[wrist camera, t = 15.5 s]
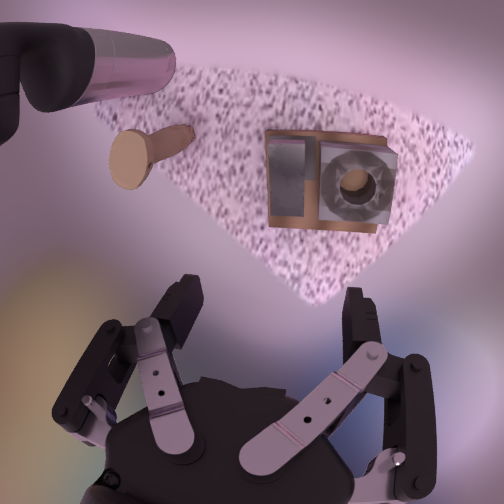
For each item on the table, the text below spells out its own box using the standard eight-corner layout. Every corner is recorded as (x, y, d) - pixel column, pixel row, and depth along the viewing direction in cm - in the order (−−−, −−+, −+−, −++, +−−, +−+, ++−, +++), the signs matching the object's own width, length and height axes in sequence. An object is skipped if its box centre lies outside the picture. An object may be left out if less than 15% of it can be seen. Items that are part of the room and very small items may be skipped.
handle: (167, 149, 39) (106, 181, 26) (177, 110, 35) (114, 126, 23) (194, 158, 39) (141, 195, 26) (206, 119, 35) (152, 137, 23)
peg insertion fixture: (270, 221, 42) (263, 244, 36) (267, 129, 34) (258, 137, 29) (373, 227, 39) (382, 251, 33) (383, 136, 31) (398, 146, 26)
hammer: (278, 128, 32) (267, 143, 22) (304, 128, 31) (304, 144, 22) (280, 179, 36) (270, 215, 26) (304, 180, 35) (303, 216, 26)
